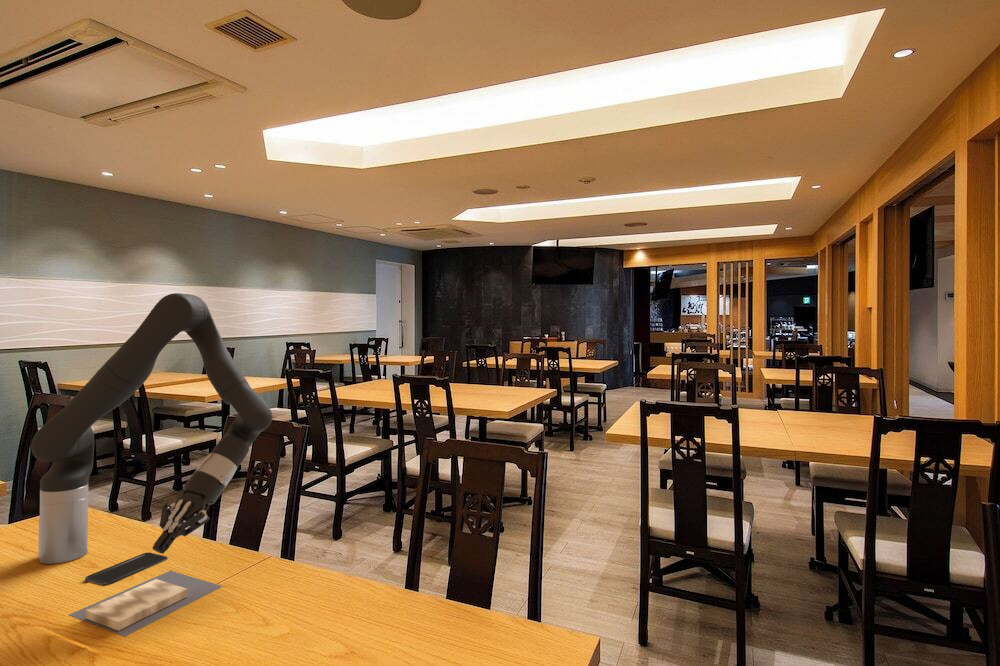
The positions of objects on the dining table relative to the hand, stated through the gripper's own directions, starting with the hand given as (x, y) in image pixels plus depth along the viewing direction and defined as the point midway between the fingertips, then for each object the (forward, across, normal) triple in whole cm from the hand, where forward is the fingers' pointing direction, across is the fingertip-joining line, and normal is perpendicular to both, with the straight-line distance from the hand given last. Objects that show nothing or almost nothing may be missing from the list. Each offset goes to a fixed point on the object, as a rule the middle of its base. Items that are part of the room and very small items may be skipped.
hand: (157, 551), depth 112 cm
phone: (+4, -19, +12) cm, 23 cm away
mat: (+8, -1, +7) cm, 10 cm away
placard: (+4, 0, +9) cm, 10 cm away
